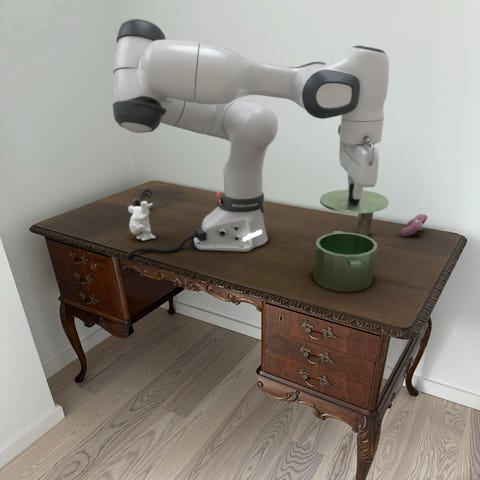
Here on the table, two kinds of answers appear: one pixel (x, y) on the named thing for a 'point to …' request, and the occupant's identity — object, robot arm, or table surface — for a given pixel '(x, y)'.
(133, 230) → the koala figurine
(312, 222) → the table surface
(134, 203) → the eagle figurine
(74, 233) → the table surface
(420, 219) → the video game controller
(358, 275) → the pot
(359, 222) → the milkshake
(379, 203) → the lid
